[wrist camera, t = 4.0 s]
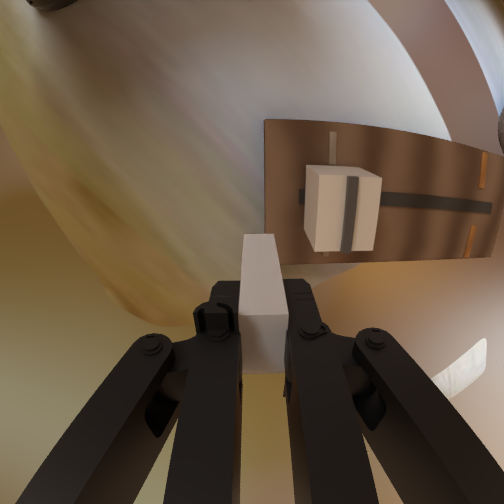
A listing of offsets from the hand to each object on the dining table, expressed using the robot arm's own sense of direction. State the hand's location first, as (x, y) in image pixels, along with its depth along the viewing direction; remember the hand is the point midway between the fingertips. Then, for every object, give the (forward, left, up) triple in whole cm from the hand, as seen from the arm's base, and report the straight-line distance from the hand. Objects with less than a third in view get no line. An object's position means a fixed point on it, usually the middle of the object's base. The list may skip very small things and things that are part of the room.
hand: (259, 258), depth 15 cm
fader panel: (+17, 0, -15) cm, 22 cm away
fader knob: (+7, 0, -11) cm, 13 cm away
